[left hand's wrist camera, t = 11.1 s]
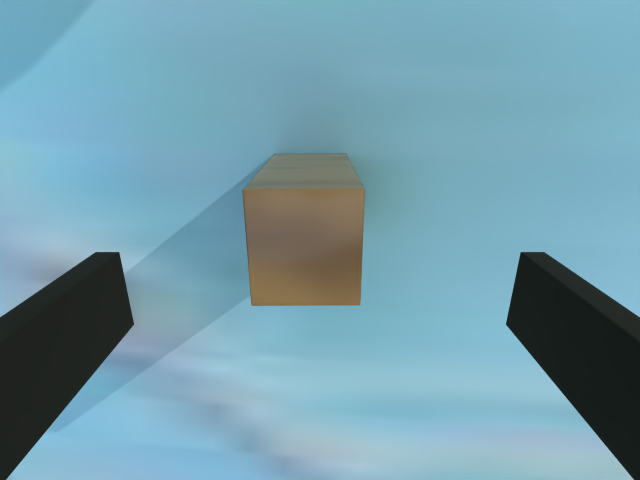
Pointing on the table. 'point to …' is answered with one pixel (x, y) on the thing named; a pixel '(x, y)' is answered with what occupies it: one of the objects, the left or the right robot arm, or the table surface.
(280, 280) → the block
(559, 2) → the table surface
